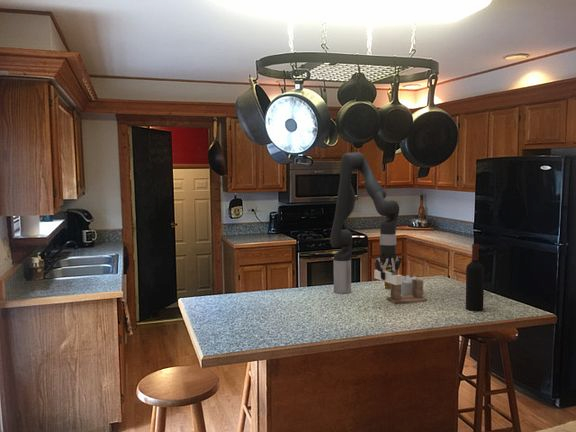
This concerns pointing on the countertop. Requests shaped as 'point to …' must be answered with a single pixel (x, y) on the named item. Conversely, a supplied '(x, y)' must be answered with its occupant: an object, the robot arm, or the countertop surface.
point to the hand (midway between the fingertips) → (387, 279)
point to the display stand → (402, 299)
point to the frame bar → (389, 277)
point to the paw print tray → (407, 285)
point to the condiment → (387, 285)
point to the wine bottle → (474, 282)
